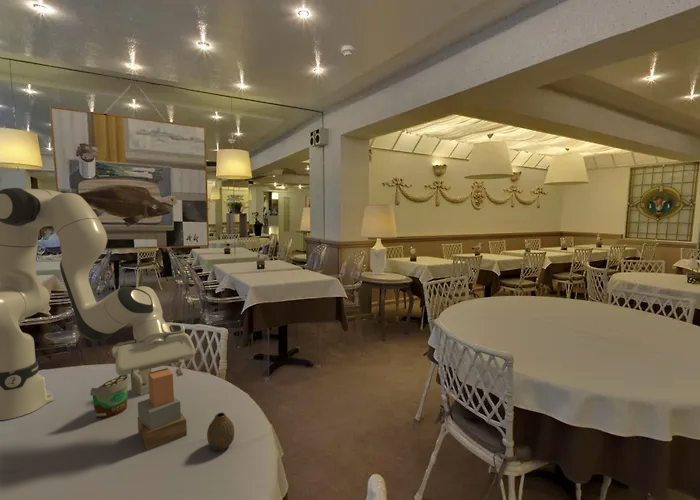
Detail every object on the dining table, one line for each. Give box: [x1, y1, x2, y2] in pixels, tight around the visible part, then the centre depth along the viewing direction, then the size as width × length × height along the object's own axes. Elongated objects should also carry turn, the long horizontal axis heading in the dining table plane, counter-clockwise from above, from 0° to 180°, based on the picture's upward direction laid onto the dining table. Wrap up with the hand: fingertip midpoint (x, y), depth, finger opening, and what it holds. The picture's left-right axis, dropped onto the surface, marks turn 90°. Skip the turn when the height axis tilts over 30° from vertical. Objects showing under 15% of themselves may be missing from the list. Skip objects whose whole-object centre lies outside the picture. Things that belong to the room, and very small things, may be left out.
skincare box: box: [129, 369, 152, 396], centre depth 131 cm, size 6×4×12 cm
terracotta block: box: [148, 367, 175, 407], centre depth 106 cm, size 5×5×8 cm
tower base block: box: [137, 412, 188, 451], centre depth 106 cm, size 10×10×5 cm
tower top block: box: [137, 396, 182, 431], centre depth 106 cm, size 8×8×5 cm
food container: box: [89, 374, 131, 419], centre depth 118 cm, size 12×6×10 cm, turn 168°
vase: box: [206, 412, 235, 451], centre depth 101 cm, size 7×7×9 cm
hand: (162, 379), depth 105 cm, fingers open, 8 cm apart
